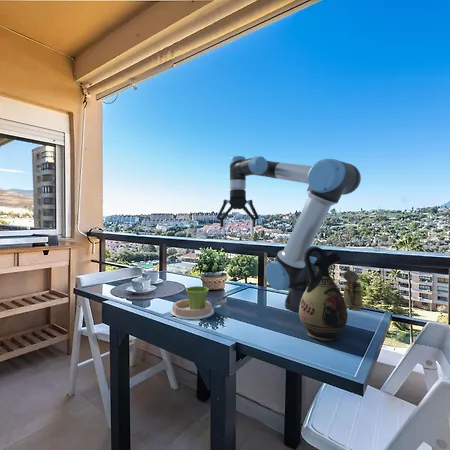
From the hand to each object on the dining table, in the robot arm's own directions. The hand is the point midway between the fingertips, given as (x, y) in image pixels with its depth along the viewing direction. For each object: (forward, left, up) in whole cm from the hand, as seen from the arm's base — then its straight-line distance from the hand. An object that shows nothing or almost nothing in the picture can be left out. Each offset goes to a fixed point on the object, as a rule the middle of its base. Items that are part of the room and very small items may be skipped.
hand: (237, 234), depth 139 cm
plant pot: (+4, +25, -31) cm, 40 cm away
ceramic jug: (-45, +21, -31) cm, 58 cm away
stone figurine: (-49, -17, -31) cm, 60 cm away
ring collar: (+5, +27, -31) cm, 41 cm away
